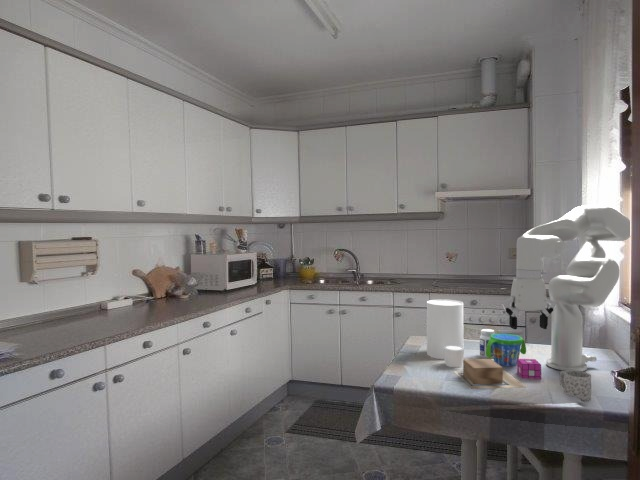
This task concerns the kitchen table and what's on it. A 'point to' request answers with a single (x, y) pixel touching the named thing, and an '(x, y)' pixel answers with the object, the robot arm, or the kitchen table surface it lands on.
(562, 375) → the mug
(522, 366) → the puzzle toy
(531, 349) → the kitchen table surface
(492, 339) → the snack cup
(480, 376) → the walnut base block
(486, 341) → the pill bottle
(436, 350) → the canister
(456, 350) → the shot glass
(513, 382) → the board
